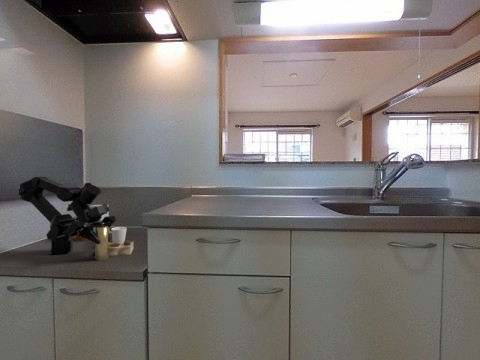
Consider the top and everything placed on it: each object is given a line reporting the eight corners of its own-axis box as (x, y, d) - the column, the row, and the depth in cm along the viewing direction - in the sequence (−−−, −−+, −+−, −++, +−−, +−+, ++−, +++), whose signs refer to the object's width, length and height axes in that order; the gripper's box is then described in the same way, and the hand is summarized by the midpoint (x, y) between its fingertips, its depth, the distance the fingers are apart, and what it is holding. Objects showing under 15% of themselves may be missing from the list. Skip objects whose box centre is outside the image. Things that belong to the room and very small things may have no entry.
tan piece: (93, 260, 99) (94, 227, 99) (97, 257, 103) (97, 225, 103) (106, 260, 100) (106, 227, 100) (109, 256, 104) (109, 225, 104)
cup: (129, 246, 120) (129, 228, 120) (106, 250, 113) (106, 231, 113) (123, 243, 125) (123, 226, 125) (101, 246, 118) (101, 229, 118)
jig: (96, 256, 104) (96, 245, 104) (102, 249, 113) (102, 239, 113) (130, 254, 107) (130, 243, 107) (133, 248, 116) (133, 238, 116)
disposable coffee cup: (67, 241, 126) (68, 216, 126) (82, 236, 136) (82, 213, 136) (85, 242, 125) (85, 217, 125) (99, 237, 134) (99, 214, 134)
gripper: (72, 200, 94) (95, 233, 90) (113, 196, 111) (133, 224, 108) (56, 220, 96) (78, 253, 93) (98, 213, 114) (118, 241, 110)
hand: (104, 242), depth 101 cm, fingers closed on tan piece, 4 cm apart
